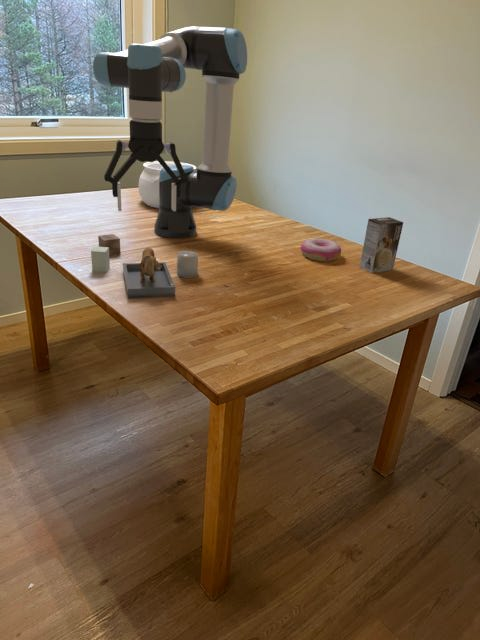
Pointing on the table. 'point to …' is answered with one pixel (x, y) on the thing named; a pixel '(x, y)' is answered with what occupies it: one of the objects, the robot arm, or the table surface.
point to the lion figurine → (148, 265)
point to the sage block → (100, 259)
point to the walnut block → (110, 243)
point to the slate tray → (147, 282)
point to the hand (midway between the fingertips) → (147, 209)
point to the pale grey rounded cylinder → (187, 264)
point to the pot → (152, 182)
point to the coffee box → (381, 244)
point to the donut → (321, 249)
